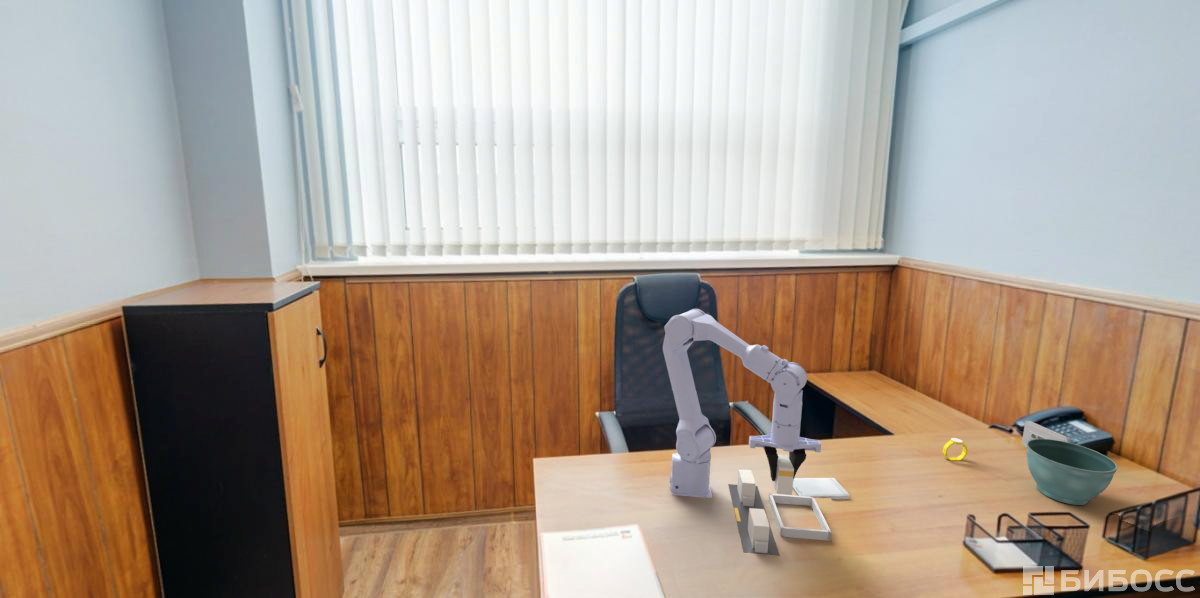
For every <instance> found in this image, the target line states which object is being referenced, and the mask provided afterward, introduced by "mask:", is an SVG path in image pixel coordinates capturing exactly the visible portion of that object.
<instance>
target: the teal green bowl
mask: <svg viewBox="0 0 1200 598" xmlns="http://www.w3.org/2000/svg"><path fill="white" fill-rule="evenodd" d="M1026 450H1027V451H1026V464H1027V466H1028V467H1027V468H1028V470H1029V473H1030V475H1031V478H1032V479H1033V480H1034V482H1035V484H1036V485H1035V486H1036V489H1037V490H1038V491H1039V492H1040V493H1042V494H1043V495H1044V496H1046V497H1047V498H1050V499H1053V500H1054V501H1058V502H1061V503H1065V504H1069V505H1075V506H1084V505H1087V504H1088V503H1089V501H1090V500H1091V499H1093V498H1096V497H1097V496H1100V495H1101V494H1102V493H1103V492H1104V491H1105V490H1106V489H1107V488H1108V487H1109V485H1110V484H1111V483H1112V480H1113V478H1114V475H1115V474H1116V472H1117V469H1118V464H1117V463H1116V462H1115V461H1114V460H1113V459H1111V458H1109V456H1106V455H1105V454H1104V453H1103V454H1102V453H1100V452H1098V451H1096V450H1094V449H1091V448H1088V447H1086V446H1083V445H1080V444H1075V443H1071V442H1070V443H1069V442H1064V441H1059V440H1052V439H1044V438H1042V439H1032V440H1029V441H1028V442H1027V448H1026Z"/></svg>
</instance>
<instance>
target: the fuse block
mask: <svg viewBox="0 0 1200 598" xmlns="http://www.w3.org/2000/svg"><path fill="white" fill-rule="evenodd" d="M727 485H728V490H729V493H730V498H731V503H732V507H733V512H734V517H735V520H736V525H737V529H738V534H739V537H740V538H739V539H740V543H741V547H742V552H743V553H748V554H757V555H759V554H760V555H768V556H769V555H770V556H781V555H780V552H779V548H778V546H777V542H776V540H775V537H774V533H773V531H772V528H771V525H770V521H769V519H768V515H767V512H766V509H765V506H764V502H763V500H762V497H761V496H762V495H761V494H760V490H759V487H758V486H757V485H756V486H755V499H754V497H745V496H743V502H741V501H740V497H739V493H738V489H737V486H738V484H733V483H731V484H730V483H728V484H727ZM749 508H754V509H764V511H765V514H766V517H767V520H768V524H769V527H770V528H769V540H768V542H758V541H755V548H752V544H751V540H750V536H749V532H748V519H749Z"/></svg>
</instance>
